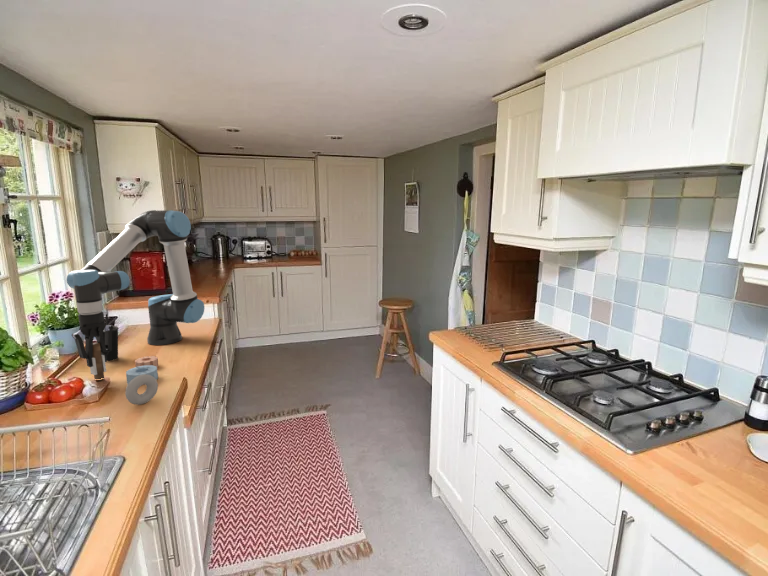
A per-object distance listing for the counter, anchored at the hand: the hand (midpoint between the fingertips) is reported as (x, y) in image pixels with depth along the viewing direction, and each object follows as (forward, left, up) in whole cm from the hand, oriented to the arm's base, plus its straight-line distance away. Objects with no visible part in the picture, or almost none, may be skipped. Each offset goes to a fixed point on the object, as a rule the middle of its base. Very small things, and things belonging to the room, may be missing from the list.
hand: (98, 372), depth 150 cm
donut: (+4, +33, -3) cm, 34 cm away
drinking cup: (-16, -20, -3) cm, 25 cm away
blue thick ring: (-8, +14, -3) cm, 16 cm away
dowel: (0, 0, -3) cm, 3 cm away
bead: (-17, +3, -3) cm, 17 cm away
